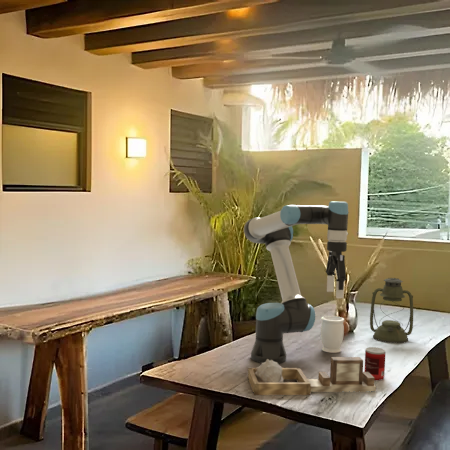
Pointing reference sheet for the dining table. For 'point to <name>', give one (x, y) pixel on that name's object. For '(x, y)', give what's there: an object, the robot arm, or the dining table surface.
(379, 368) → the canned food
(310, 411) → the dining table surface
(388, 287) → the lantern
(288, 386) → the shell cradle
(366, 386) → the ledge
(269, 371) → the seashell
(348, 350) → the dining table surface
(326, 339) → the jar
